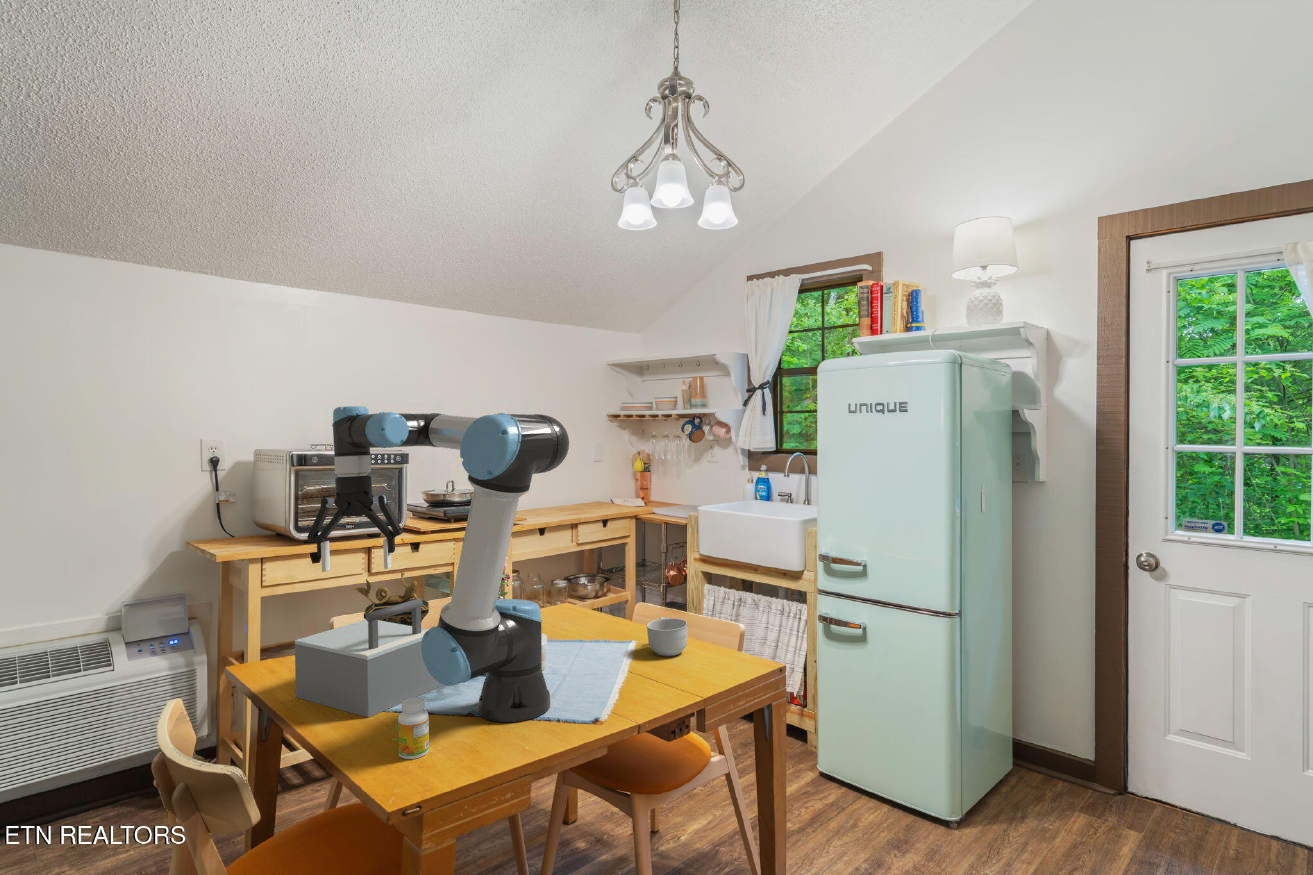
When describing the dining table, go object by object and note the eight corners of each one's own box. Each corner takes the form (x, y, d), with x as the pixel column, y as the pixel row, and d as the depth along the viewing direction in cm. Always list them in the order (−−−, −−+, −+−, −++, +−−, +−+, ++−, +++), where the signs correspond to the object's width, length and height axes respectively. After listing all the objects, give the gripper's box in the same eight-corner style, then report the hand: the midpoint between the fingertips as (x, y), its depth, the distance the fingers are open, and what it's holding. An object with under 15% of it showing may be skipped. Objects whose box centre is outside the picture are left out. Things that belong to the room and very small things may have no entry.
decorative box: (429, 636, 206) (428, 568, 206) (429, 646, 197) (428, 574, 197) (354, 643, 200) (353, 573, 200) (350, 653, 191) (349, 580, 191)
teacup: (688, 659, 184) (688, 628, 183) (646, 659, 184) (646, 628, 184) (686, 642, 197) (686, 614, 197) (647, 643, 198) (647, 614, 197)
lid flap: (439, 634, 166) (438, 597, 166) (367, 659, 149) (366, 617, 148) (369, 621, 178) (368, 586, 177) (294, 643, 160) (293, 604, 160)
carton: (440, 686, 166) (439, 635, 166) (368, 717, 149) (367, 660, 149) (370, 669, 178) (369, 622, 178) (295, 697, 160) (294, 644, 160)
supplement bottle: (393, 753, 133) (392, 701, 132) (420, 743, 136) (419, 693, 136) (406, 762, 129) (405, 709, 129) (434, 752, 133) (433, 701, 132)
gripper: (414, 471, 165) (418, 563, 165) (303, 476, 164) (307, 569, 164) (404, 473, 158) (408, 569, 158) (288, 478, 156) (292, 575, 156)
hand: (357, 569), depth 161 cm, fingers open, 13 cm apart
